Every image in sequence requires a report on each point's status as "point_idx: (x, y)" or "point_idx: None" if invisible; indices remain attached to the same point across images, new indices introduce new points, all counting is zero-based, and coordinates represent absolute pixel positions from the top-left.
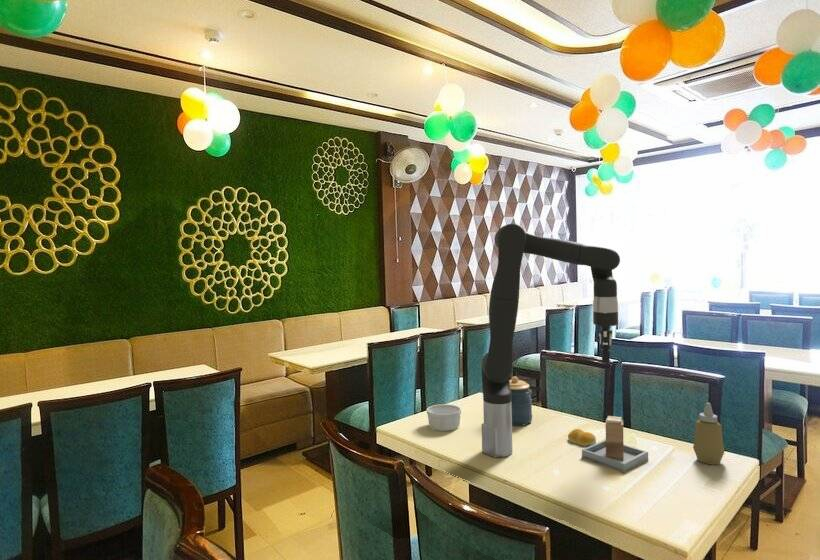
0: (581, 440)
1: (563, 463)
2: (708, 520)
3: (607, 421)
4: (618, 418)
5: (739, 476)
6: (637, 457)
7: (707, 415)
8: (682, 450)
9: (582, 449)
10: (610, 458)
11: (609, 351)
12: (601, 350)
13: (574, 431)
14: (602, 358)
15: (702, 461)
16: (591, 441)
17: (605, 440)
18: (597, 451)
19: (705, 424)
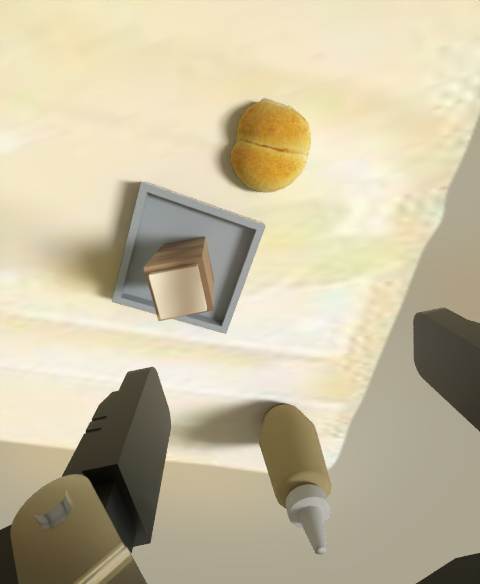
0: (233, 155)
1: (71, 145)
2: (13, 441)
3: (150, 273)
4: (185, 305)
5: (233, 462)
6: (175, 319)
7: (298, 514)
8: (321, 375)
9: (143, 182)
10: (126, 266)
11: (460, 410)
12: (62, 477)
13: (263, 120)
14: (120, 396)
15: (266, 414)
16: (247, 184)
17: (252, 225)
18: (194, 214)
19: (280, 491)
